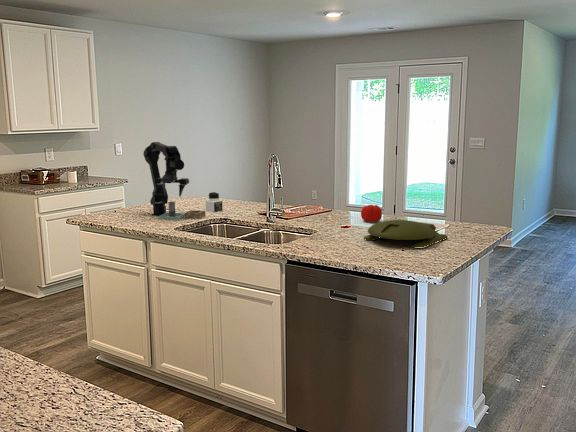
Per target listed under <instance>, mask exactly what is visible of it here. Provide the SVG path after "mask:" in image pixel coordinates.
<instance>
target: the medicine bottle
mask: <svg viewBox="0 0 576 432" xmlns="http://www.w3.org/2000/svg"><path fill="white" fill-rule="evenodd" d="M223 210H224V209H223V200H222V199H220V193H219V192H216V191H214V192H213V191H212V192H209V193H208V199H207V200H206V201H205V212H212V213H217V212H223Z"/></svg>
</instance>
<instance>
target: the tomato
mask: <svg viewBox="0 0 576 432" xmlns="http://www.w3.org/2000/svg"><path fill="white" fill-rule="evenodd" d="M382 213H383V212H382V208H380V206H379V205H378V204H375V205H373V204H368V205H365V206H363V207H362V208H361V211H360V217H361V219H362V220H363V221H364V222H368V223H369V222H371V223H378V222H380V221H381V220H382V216H383V214H382Z"/></svg>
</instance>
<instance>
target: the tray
mask: <svg viewBox="0 0 576 432" xmlns="http://www.w3.org/2000/svg"><path fill="white" fill-rule="evenodd" d="M185 213H186V212H185ZM185 213H184V212H175V217H170V216H169V212H166V213H164V214H162V215H157V219H158V220H172V221H180V220H182V219H183V218H185Z"/></svg>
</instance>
